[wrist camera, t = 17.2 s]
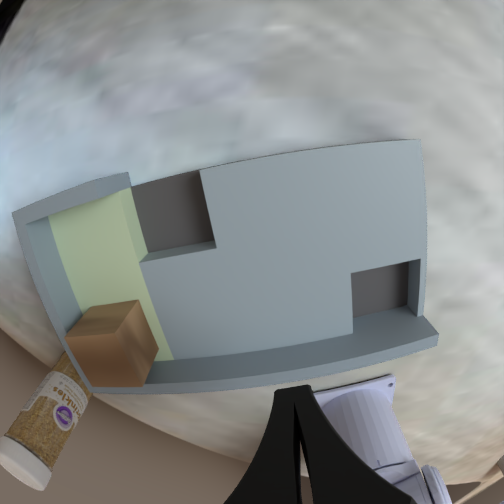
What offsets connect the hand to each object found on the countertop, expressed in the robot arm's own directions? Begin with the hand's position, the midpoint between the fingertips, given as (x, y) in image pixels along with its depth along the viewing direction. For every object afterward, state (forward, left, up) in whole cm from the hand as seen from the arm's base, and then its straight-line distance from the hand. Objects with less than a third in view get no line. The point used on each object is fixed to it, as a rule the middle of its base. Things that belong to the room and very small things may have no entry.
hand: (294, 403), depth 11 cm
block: (0, +11, -8) cm, 13 cm away
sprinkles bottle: (-5, +19, -10) cm, 22 cm away
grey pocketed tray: (+3, +2, -10) cm, 11 cm away
